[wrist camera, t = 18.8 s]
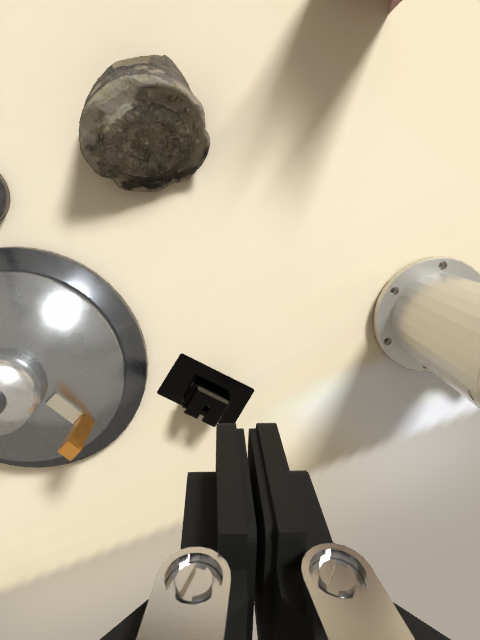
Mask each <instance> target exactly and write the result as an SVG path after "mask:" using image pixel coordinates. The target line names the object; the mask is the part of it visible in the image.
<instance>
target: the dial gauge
mask: <svg viewBox="0 0 480 640" xmlns="http://www.w3.org/2000/svg"><path fill="white" fill-rule="evenodd" d="M9 206H10V192H9V188H8V186H7V183H6V181H5V180H4V178H3V177H2V175H1V174H0V221H1V220H2V219H3V218H4V217H5V215H6V214H7V212H8V209H9Z"/></svg>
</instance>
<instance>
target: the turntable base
mask: <svg viewBox="0 0 480 640" xmlns="http://www.w3.org/2000/svg"><path fill="white" fill-rule="evenodd" d="M0 270H26V271H32V272H37V273H41V274H45V275H48V276H51V277H54V278H57V279H59V280H61V281H64V282H66V283H68V284H69V285H71V286H73V287H75V288H76V289H78V290H80V291H81V292H82V293H84V294H85V295H86V296H88V297H89V298H90V299H91V300H92V301H93V302H94V303H95V304H97V305H98V306H99V307H100V308H101V310H102V311H103V312H104V313H105V315H106V316H107V317H108V318H109V320H110V321H111V323H112V325H113V326H114V328H115V329H116V331H117V334H118V336H119V338H120V340H121V343H122V346H123V350H124V353H125V360H126V383H125V389H124V392H123V396H122V399H121V401H120V404H119V406H118V408H117V410H116V413H115V415H114V417H113V418H112V420H111V421H110V423H109V424H108V426H107V427H106V428H105V429H104V430H103V431H102V433H101V434H100V435H99V436H97V437H96V438H95V439H94V440H93V441H92V442H90V443H89V444H87V445H86V446H84V447H83V448H82V450H81V451H80V452H79V453H78V454H77V455H76V456H75V457H74V458H73V459H72V460H71V461H70V460H68V459H67V458H65V457H64V456H62V457H59V458H55V459H50V460H44V461H34V462H27V461H13V460H6V459H1V458H0V462H1V463H5V464H9V465H15V466H23V467H50V466H58V465H63V464H68V463H71V462H75V461H78V460H81V459H83V458H86V457H88V456H90V455H92V454H94V453H96V452H98V451H99V450H101V449H103V448H104V447H106V446H107V445H108V444H110V443H111V442H112V441H113V440H115V439H116V438H117V437H118V436H119V435H120V434H121V433H122V432H123V431H124V429H125V428H126V427H127V426H128V424H129V423H130V421H131V420H132V419H133V417H134V415H135V413H136V411H137V409H138V407H139V405H140V402H141V399H142V396H143V393H144V390H145V386H146V380H147V370H148V360H147V351H146V345H145V341H144V338H143V334H142V331H141V329H140V327H139V324H138V322H137V320H136V318H135V316H134V314H133V313H132V311H131V309H130V307H129V306H128V305H127V303H126V302H125V301H124V299H123V298H122V297H121V295H120V294H119V293H118V292H117V291H116V290H115V289H114V288H113V287H112V286H111V285H110V284H109V283H108V282H107V281H105V280H104V279H103V278H102V277H100V276H99V275H98V274H97V273H95V272H94V271H92V270H90V269H89V268H87V267H86V266H84V265H82V264H80V263H78V262H76V261H74V260H72V259H70V258H68V257H65V256H62V255H59V254H56V253H53V252H50V251H45V250H41V249H36V248H26V247H0Z"/></svg>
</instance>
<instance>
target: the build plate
mask: <svg viewBox="0 0 480 640" xmlns="http://www.w3.org/2000/svg"><path fill="white" fill-rule="evenodd" d="M253 392H254V389H253V388H251V387H249V386H247V385H245V384H243V383H240V382H238V381H236V380H234V379H232V378H230V377H228V376H226V375H224V374H222V373H220V372H218V371H216V370H214V369H212V368H210V367H208V366H206V365H204V364H202V363H200V362H198V361H196V360H194V359H192V358H190V357H188V356H186V355H184V354H180V356H179V357H178V359H177V360H176V362H175V364H174V365H173V367H172V369H171V370H170V372H169V373H168V375H167V377H166V378H165V380H164V382H163V383H162V385H161V386H160V388H159V390H158V391H157V393H158V394H159V395H161V396H164V397H166V398H168V399H170V400H172V401H174V402H176V403H178V404H180V405H182V407H183V408H184V413H186V414H188V415H190V416H192V417H194V418H196V419H197V418H198V417H199V415H200V414H201V415H203V418H202V421H203V422H205V423H207V424H209V425H211V426H213V427H215V426H216V424H217V423H219V424H221V423H235V422H236V420H237V419H238V417H239V415H240V414H241V412H242V410H243V409H244V407H245V405H246V404H247V402H248V400H249V399H250V397H251V395H252V394H253Z"/></svg>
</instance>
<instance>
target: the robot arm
mask: <svg viewBox="0 0 480 640" xmlns="http://www.w3.org/2000/svg"><path fill="white" fill-rule="evenodd" d="M439 264H440V266H439ZM392 288H393V291H392V292H391V289H392ZM373 321H374V332H375V335H376V339H377V341H378V343H379V345H380V347H381V349H382V350H383V351H384V352H385V353H386V354H387V356H388V357H390V358H391V359H392V360H393V361H394V362H396V363H398V364H399V365H401V366H403V367H405V368H408V369H411V370H417V371H431V372H433V373H434V374H435V375H437V376H438V377H439V378H441V379H442V380H443V381H444V382H446V383H447V384H448V385H450V386H451V387H452V388H454V389H455V390H456V391H458V392H459V393H460V394H461V395H463V396H464V397H465V398H467V399H468V400H469V401H471V402H472V403H473V404H475V405H476V406H477V407H478V408H480V274H479V273H478V272H477V271H476V270H475V269H474V268H473V267H472V266H470V265H468V264H466V263H464V262H462V261H459V260H456V259H452V258H447V257H429V258H425V259H421V260H418V261H416V262H413V263H411V264H409V265H407V266H406V267H404V268H403V269H401V270H400V271H399V272H397V273H396V274H395V275H394V276H393V277H392V278H391V279H390V280H389V282H388V283H387V284H386V286H385V287H384V288H383V290H382V292H381V294H380V296H379V298H378V300H377V303H376V307H375V311H374V319H373ZM385 339H386V340H385ZM384 340H385V341H384ZM254 605H255V615H256V625H257V635H258V640H450V639H449V638H447V637H446V636H444V635H443V634H441V633H440V632H438V631H437V630H435V629H433V628H432V627H430V626H429V625H427V624H426V623H424V622H423V621H421V620H419V619H418V618H417V617H415V616H413V615H412V614H410V613H409V612H407V611H406V610H404V609H403V608H401V607H400V606H398V605H397V604H395V603H393V602H392V601H391V599H390V597H389V596H388V594H387V592H386V591H385V589H384V587H383V586H382V584H381V582H380V581H379V579H378V577H377V576H376V574H375V572H374V571H373V569H372V568H371V566H370V565H369V564H368V562H367V561H366V560H365V559H364V557H362V556H361V555H360V554H358V553H357V552H356V551H354V550H352V549H350V548H348V547H346V546H343V545H339V544H335V543H333V541H332V539H331V536H330V533H329V530H328V527H327V524H326V522H325V519H324V516H323V513H322V510H321V507H320V504H319V502H318V499H317V496H316V493H315V490H314V487H313V484H312V481H311V479H310V476H309V474H308V472H307V471H290V470H289V467H288V463H287V460H286V456H285V452H284V449H283V445H282V442H281V438H280V435H279V431H278V428H277V425H276V423H257V424H256V429H249V438H248V459H247V451H246V444H245V436H244V429H236V423H221V424H217V430H216V472H188V477H187V487H186V498H185V508H184V519H183V530H182V541H181V550H179V551H177V552H175V553H174V554H172V555H170V556H169V557H168V558H167V559H166V560H165V561H164V562H163V564H162V565H161V567H160V569H159V571H158V573H157V576H156V579H155V582H154V585H153V588H152V592H151V594H150V597H149V599H148V600H147V601H146V602H144V603H143V604H142V605H141V606H140V607H138V608H137V609H136V610H135V611H134V612H132V613H131V614H130V615H129V616H128V617H126V618H125V619H124V620H123V621H122V622H121V623H119V624H118V625H117V626H116V627H114V628H113V629H112V630H111V631H110V632H108V633H107V634H106V635H105V636H104V637H102V638H101V639H100V640H252V630H253V611H254Z"/></svg>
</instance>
